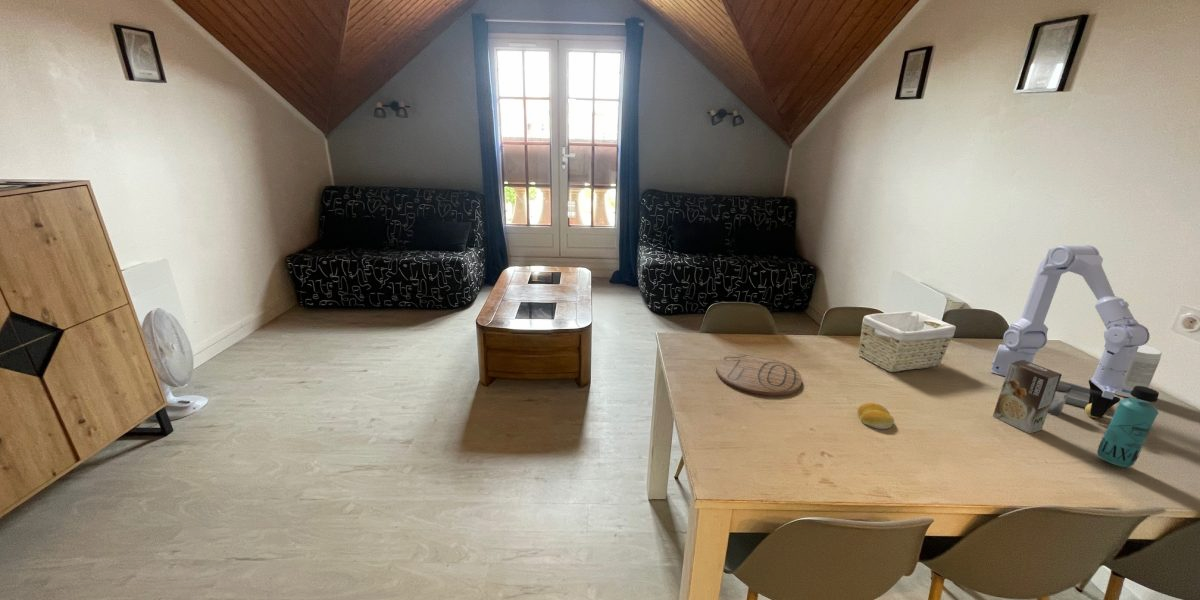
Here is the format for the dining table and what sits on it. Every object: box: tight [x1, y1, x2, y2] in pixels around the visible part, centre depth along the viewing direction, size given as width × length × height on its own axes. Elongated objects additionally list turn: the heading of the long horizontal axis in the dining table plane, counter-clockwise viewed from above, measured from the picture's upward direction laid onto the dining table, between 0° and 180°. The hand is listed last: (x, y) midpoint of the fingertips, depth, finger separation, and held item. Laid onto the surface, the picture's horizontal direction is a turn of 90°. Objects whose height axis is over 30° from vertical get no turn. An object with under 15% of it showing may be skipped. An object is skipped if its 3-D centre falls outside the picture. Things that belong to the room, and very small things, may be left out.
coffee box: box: [992, 360, 1062, 434], centre depth 130 cm, size 9×6×16 cm
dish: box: [1060, 380, 1107, 415], centre depth 147 cm, size 12×12×2 cm
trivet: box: [715, 353, 803, 398], centre depth 152 cm, size 25×25×2 cm
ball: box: [1084, 403, 1106, 419], centre depth 137 cm, size 4×4×4 cm
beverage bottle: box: [1096, 386, 1160, 468], centre depth 114 cm, size 6×7×20 cm
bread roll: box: [856, 402, 895, 430], centre depth 131 cm, size 8×9×4 cm
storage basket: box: [857, 310, 957, 373], centre depth 165 cm, size 24×16×15 cm
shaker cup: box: [1048, 380, 1072, 416], centre depth 138 cm, size 5×5×8 cm
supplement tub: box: [1115, 344, 1163, 399], centre depth 150 cm, size 10×10×15 cm
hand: (1094, 411), depth 137 cm, fingers open, 6 cm apart
